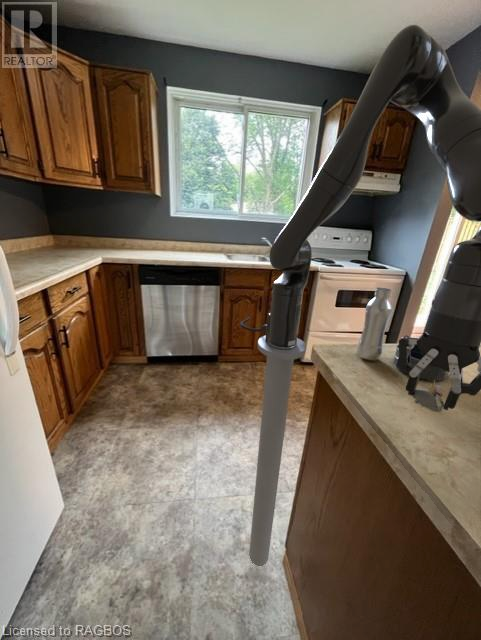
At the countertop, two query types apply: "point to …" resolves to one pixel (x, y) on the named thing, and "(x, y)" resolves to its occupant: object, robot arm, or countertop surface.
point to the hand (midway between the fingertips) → (427, 399)
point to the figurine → (430, 397)
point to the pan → (428, 371)
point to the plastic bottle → (375, 325)
